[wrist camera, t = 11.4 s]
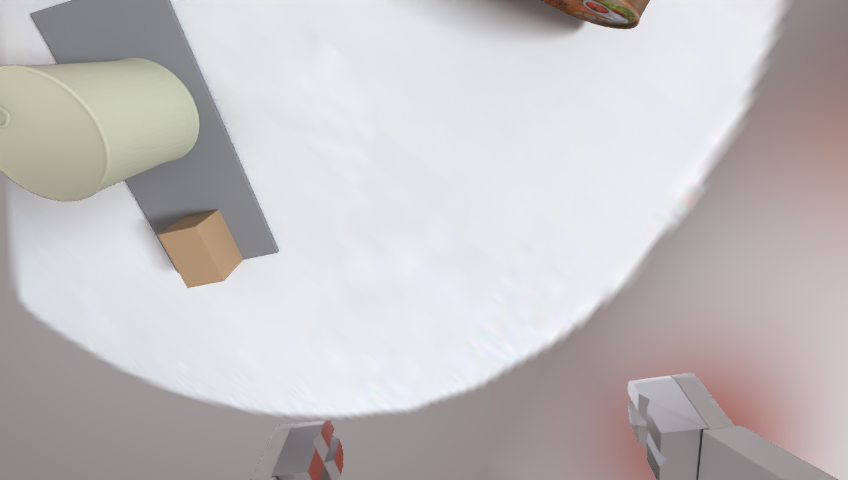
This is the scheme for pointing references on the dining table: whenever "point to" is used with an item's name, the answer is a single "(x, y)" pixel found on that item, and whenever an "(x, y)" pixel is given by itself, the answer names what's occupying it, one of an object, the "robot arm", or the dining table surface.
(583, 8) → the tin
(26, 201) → the dining table surface
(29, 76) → the can
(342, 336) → the dining table surface
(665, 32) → the dining table surface
